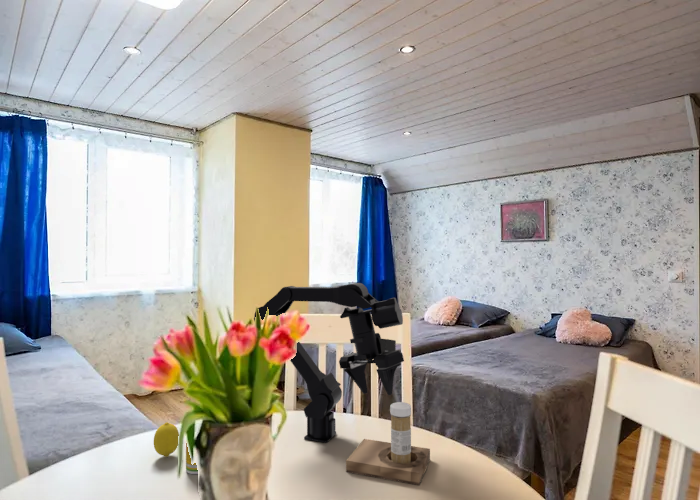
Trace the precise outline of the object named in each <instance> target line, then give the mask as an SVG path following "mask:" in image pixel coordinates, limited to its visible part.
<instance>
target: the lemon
mask: <svg viewBox="0 0 700 500" xmlns="http://www.w3.org/2000/svg"><path fill="white" fill-rule="evenodd" d="M178 436H179V437H180V432H179V430H178V427H177V426H176V425H174V424H172V423H170V422H168V421H167V422H165V423H164V424H161V425H160V426H159V427H158V428H157V429H156V430H155V433H154V437H153V447H154V450H155V451H156V453H157V454H158V455H160V456H163V457H165V458H168V457H169V456H170V455H171V454H173V453H174V452H175V451H176V450H177V448H178V447H179V444H178ZM177 446H178V447H177Z"/></svg>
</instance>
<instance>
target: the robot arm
mask: <svg viewBox="0 0 700 500" xmlns="http://www.w3.org/2000/svg"><path fill="white" fill-rule="evenodd" d="M294 302H319V303H321V302H324V303H326V302H327V303H333V304H335V305H338V306H345V307H344V309H343V311H342V313H341V315H340V316H339V318H341V319H345V318H348V320H349V324H350V329H351V335H352V338H350V339H349V341H350V344H354V347H355V352H352V353H349V354H346V355H343V356H340V358H339V361H338V364H339V367H340V369H343V371H344V372H345V373H346V374H347V375H348V376H349V378H351V379H352V380H353V382H354V383H355V384H356V386H357V387H358V388H359V390H360V391H361V392H362V394H364V395H366V394H367V393H368V385H367V378H366V373H365V371H366V367H367V364H375V366H376V367H377V369H376V372H377V374H378V377H379V379H380V382H381V383H382V386H383V388H384V390H385V392H386V394H387V396H392V394H393V388H394V381H395V373H396V372H395V371H396V370H397V368H398V367H400V366H401V365H402V363H403V362H405V359H404V354H403V352H402V351H401V350H399V349H397V348H396V347H397V346H396V345H397V343H396V340H395V339H389V338H382V337H381V334H380V332H376V330H375V327H378V328H379V329H380V330H381V329H387V328H391V327H395V326H401V325H403V323H404V320H403V319H404V318H403V312H402V309H401V307H400V305H399V302H398V301H397V298H396V297H391V298H388V299H386V300H382V301H379V300H377V299H376V298H375V297H373V296H372V295H371V294H370V293H369V290H368V288H367V286H366V285H364V284H363V283H361V282H355V283H350V284H344V285H338V286H294V285H290V286H284V287H281V288H280V290H279V291H278V292H277V293H276V294H275V295H274V296H273V297H271V298H269V300H268V301H267V302H265V303H264V305H263V306H260V307H258V308H257V309H259V313H260V316H261V319H262V320H263V319H264V317H265V314H266V311H267V307H268V309H269V315H276V316H278V315H280V314H282V313H285V314H286V313H287V312H288V311H289V310H290V309H291V306H292V305H293V303H294ZM354 307H357V308H354ZM351 308H353V309H351ZM365 309H367V310H365ZM255 317H256V311H255V313H254V317H253V321H254V322H255ZM289 361H290V362H291V364H292V365H293V367H294V368H295V370H297V372H298V373H299V375H300V376H301V378H302V379H303V380H304V383H305V385H306V388H307V393H308V397H309V398H310V400H311V401H310V402H308V404H307V405H306V406H305V407H304V408H303V412H304V416H305V418H306V434H305V436H304V437H303V438H304V440H308V441H314V442H319V443H328V442H329V441H330V440H332V439H333V438H334V436H335V435H336V434H337V431H336V418H335V417H334V415H335V414H334V411H332V410H333V409H335V407H336V405H337V404H338V403H339V402H340V401H341V399H342V395H343V390H342V388H341V387H340V386H341V383H340V382H339V381H338V380H337V379H336V378H335V376H334V374H333V372H329V373H328V374H326V373H324V372H322V371H321V370H320V368H319V367H318V366H317V364H316V363H315V361H314V360H313V359H312V357H311V356H310V355H309V353H308V352H307V351H306V349H305V348H304V347H303V345H302V344H301V342H300V341H299V342H298V343H297V353H296V356H295V357H294V358H293V359H291V360H289Z"/></svg>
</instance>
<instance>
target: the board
mask: <svg viewBox="0 0 700 500" xmlns="http://www.w3.org/2000/svg"><path fill="white" fill-rule="evenodd" d="M391 458H392V457H391V442H387V441H381V440H374V439H369V438H368V439H367V438H364V439H362V440H361V442H360V443H359V444H358V445H357V447H356V448H355V449H354V450H353V451H352V452H351V454H350V455H349V456H348V457H347V459H346V460H345V472H346V473H350V474H355V475H359V476H366V477H367V476H368V477H372V478H377V479H383V480H388V481H392V482H393V481H394V482H397V483H398V482H400V483H405V484H409V485H415V486H420V485H421V482H422V479H423V478H424V475H425V473H426V471H427V468H428V466H429V463H430V461H431V448H427V447H421V446H414V445H411V463H405V464H401V463H395V462H393V461H391Z"/></svg>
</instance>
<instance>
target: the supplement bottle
mask: <svg viewBox="0 0 700 500" xmlns="http://www.w3.org/2000/svg"><path fill="white" fill-rule="evenodd" d="M185 471H186V472H187V474H190V475H199V474H198V470H197V465H196V463H194V464H193V465H192V464H191V458H190V455H189V452H188V447H187V443H186V442H185Z"/></svg>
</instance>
